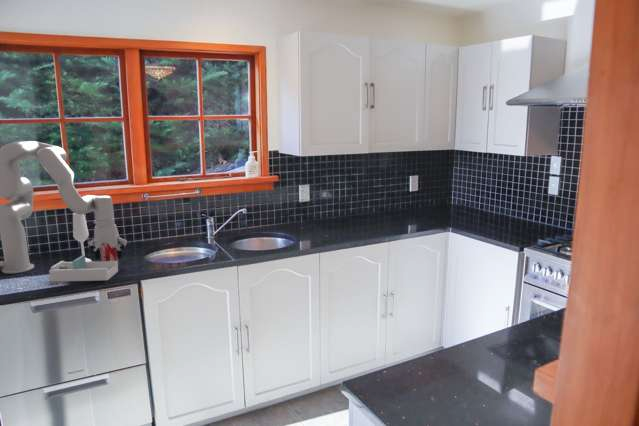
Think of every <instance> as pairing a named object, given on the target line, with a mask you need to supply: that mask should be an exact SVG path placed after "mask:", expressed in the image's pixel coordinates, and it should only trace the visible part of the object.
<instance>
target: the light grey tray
mask: <svg viewBox="0 0 639 426" xmlns="http://www.w3.org/2000/svg"><path fill="white" fill-rule="evenodd" d="M118 272H119V262H118V263H117V261H101V260H96V261H95V260H93V261H88V262H86V269H73V262H72V261H65V260H60V261H58V262H57V263H56V264H54V265H52V266H51V267H50V269H49V270H48V273H49V281H50V282H51V283H52V282H53V283H54V282H59V283H60V282H91V281H92V282H93V281H96V282H98V281H99V282H100V281H109V280H110V279H111V278H112V277H113V276H115V275H116V274H117V273H118Z"/></svg>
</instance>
